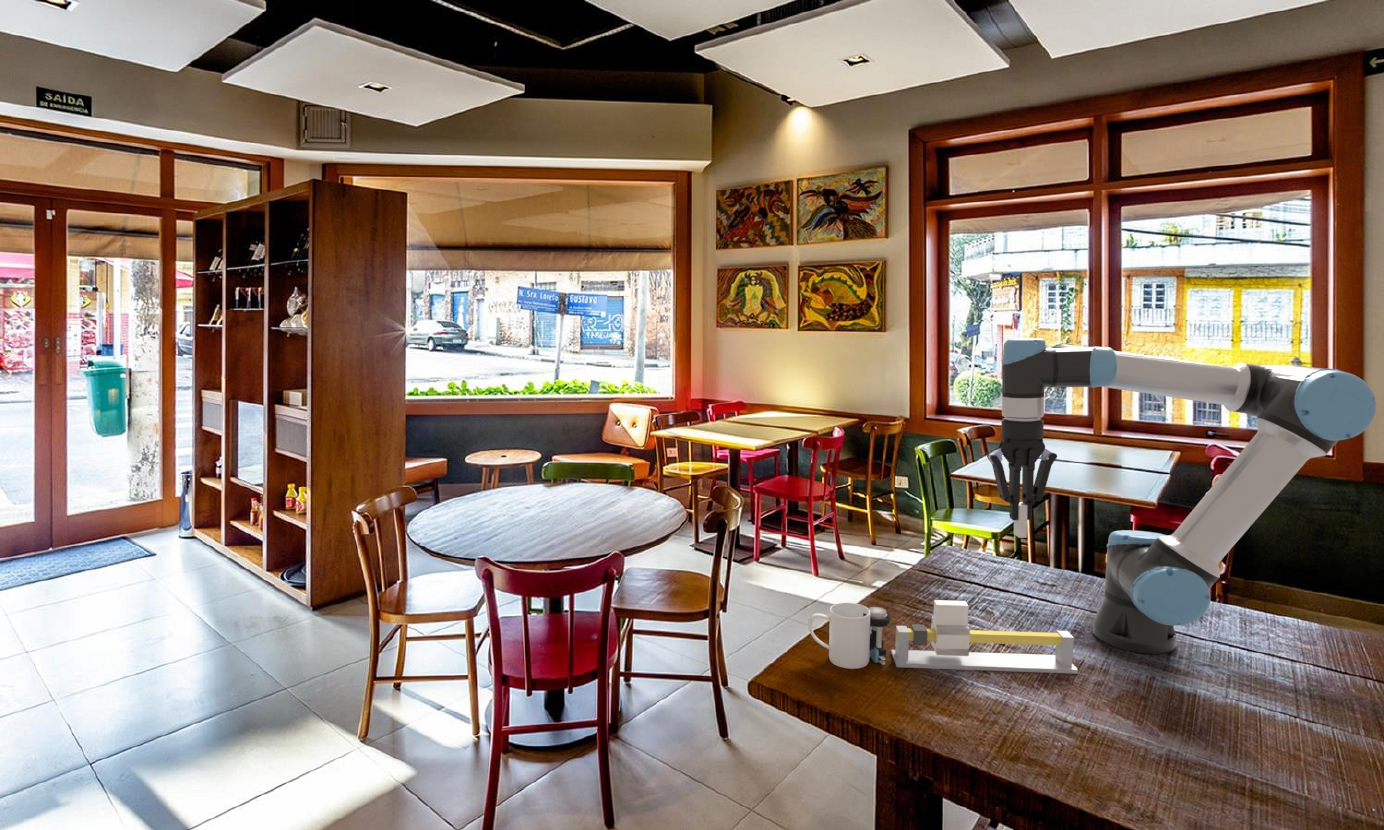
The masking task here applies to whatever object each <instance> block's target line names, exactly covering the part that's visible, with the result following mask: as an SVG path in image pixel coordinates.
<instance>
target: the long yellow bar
mask: <svg viewBox="0 0 1384 830" xmlns="http://www.w3.org/2000/svg"><path fill="white" fill-rule="evenodd" d="M910 624H911V623H910ZM907 629H908V631H909V642H910V641H911V642H912V645H914V646H927V645H928V642H931V641H934V642H936V630H935V629H931V628H927V627H926V625H925V624H919V623H918V624H917V623H915V624H913V623H912V624H911V627H910V628H909V627H907ZM896 637H897V639H898V630H897V628H896V627H895V638H896ZM1061 641H1062V637H1061V636H1060V634H1059V633H1057V632H1046V631H1044V632H1041V631H1013V630H1012V631H1010V630H1009V631H1008V630H1007V631H1005V630H1004V631H1003V630H1001V631H1000V630H979V629H977V630H976V629H975V630H973V629H970V640H969V644H970V643H971V644H973V643H974V644H995V645H996V644H999V645H1000V644H1001V645H1003V644H1005V645H1028V646H1030V645H1031V646H1033V645H1034V646H1055V647H1056V646H1061Z"/></svg>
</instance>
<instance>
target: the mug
mask: <svg viewBox="0 0 1384 830" xmlns="http://www.w3.org/2000/svg"><path fill="white" fill-rule="evenodd" d="M863 613H864V614H866V616H863ZM817 618H822V619H824V620H826V621H827V622H829V626H828V627H829V632H828V633H829V634H828V635H829V639H828V644H827V643H826V642H823V641H822V640H820V639H819V638H818V636H817V635H816V634H815V632H814V631H813V624H812V623H813V622H814V620H815V619H817ZM807 624H808V631H809V633H810V635H811V637H812V638H813V640H814V641H815V642H816V643H817V644H818V645H820V646H822V647H823V648H825V649H826V650H828V658H829V661H830V663H831V664H833V665H835V666H837V667H839V668H843V669H849V670H854V669H855V670H856V669H861V668H864V667H866V666H867V665H869V663H870V658H869V650H870V631H871V626H870V610H869V608H868V607H867V606H865V605H863V604H859V603H854V602H839V603H835V604H833V605H831V606H830V607H829V616H828V615H826V614H824V613H821V612H820V613H813V614H812V615H810V617H809V619H808V623H807Z"/></svg>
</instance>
